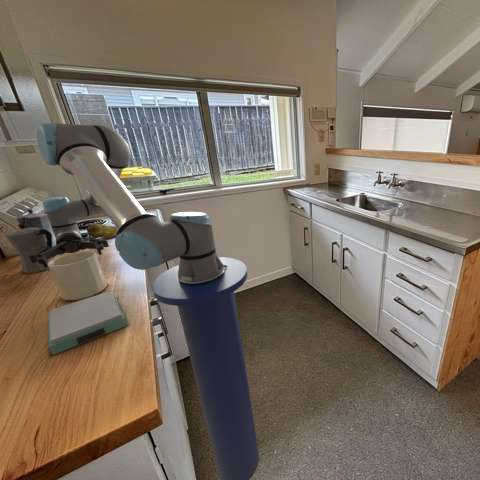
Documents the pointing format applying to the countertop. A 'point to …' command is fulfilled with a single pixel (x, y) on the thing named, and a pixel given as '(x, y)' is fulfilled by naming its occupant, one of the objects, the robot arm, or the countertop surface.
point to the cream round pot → (77, 275)
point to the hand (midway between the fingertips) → (73, 257)
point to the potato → (102, 231)
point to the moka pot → (36, 223)
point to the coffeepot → (29, 246)
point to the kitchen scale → (83, 321)
